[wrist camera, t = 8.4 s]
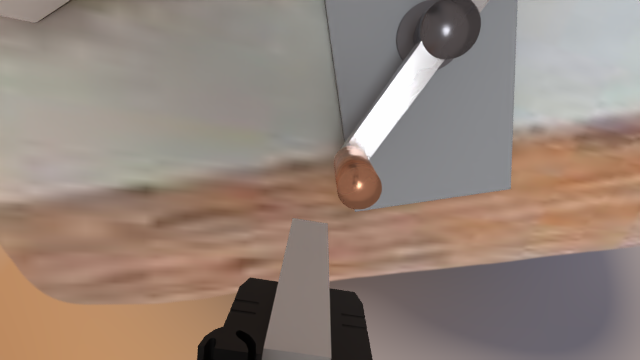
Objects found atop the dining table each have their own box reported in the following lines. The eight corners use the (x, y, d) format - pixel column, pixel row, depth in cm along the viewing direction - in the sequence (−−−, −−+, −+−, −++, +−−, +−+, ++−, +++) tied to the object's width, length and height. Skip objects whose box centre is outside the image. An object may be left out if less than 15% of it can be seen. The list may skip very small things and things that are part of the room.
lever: (468, -59, 25) (573, -160, 14) (506, -25, 26) (633, -97, 15) (321, 152, 31) (320, 188, 20) (355, 175, 31) (372, 222, 21)
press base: (318, -44, 27) (317, -67, 23) (509, -82, 26) (546, -114, 22) (353, 206, 35) (358, 223, 31) (502, 184, 34) (528, 199, 30)
